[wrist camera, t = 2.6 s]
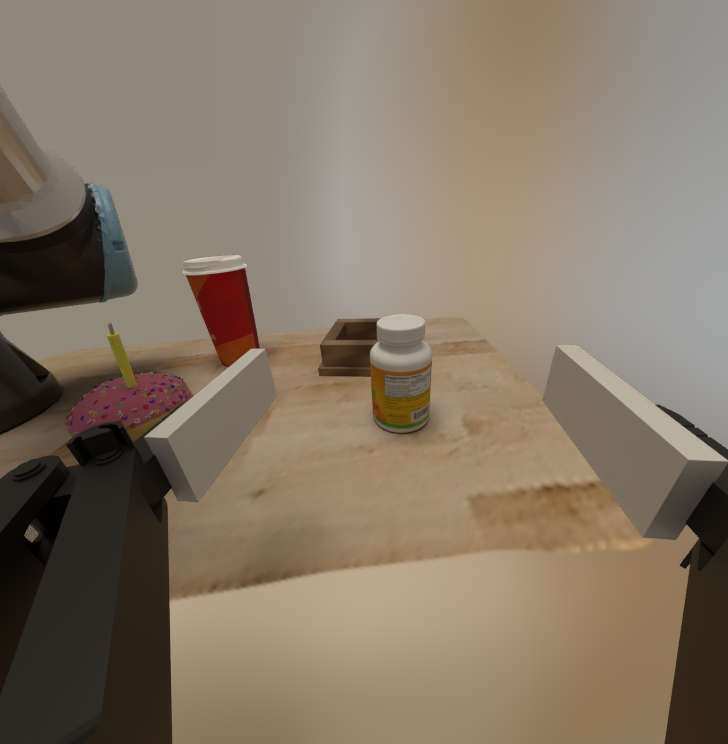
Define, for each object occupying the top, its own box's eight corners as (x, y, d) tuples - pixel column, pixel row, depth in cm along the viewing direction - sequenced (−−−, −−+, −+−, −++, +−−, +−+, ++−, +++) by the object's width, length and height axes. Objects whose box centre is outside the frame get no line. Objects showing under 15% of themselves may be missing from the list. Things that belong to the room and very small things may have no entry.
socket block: (319, 375, 37) (314, 346, 35) (337, 342, 47) (335, 318, 45) (406, 376, 35) (406, 346, 33) (407, 341, 45) (407, 316, 43)
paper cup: (234, 347, 48) (207, 255, 41) (276, 348, 46) (255, 253, 39) (200, 369, 41) (162, 264, 34) (249, 371, 39) (218, 262, 33)
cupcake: (226, 426, 29) (183, 306, 23) (148, 496, 22) (59, 349, 16) (161, 414, 31) (108, 304, 26) (72, 474, 24) (-28, 341, 19)
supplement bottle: (376, 400, 31) (372, 311, 27) (427, 402, 30) (432, 311, 26) (369, 433, 27) (362, 332, 22) (430, 436, 26) (435, 332, 21)
